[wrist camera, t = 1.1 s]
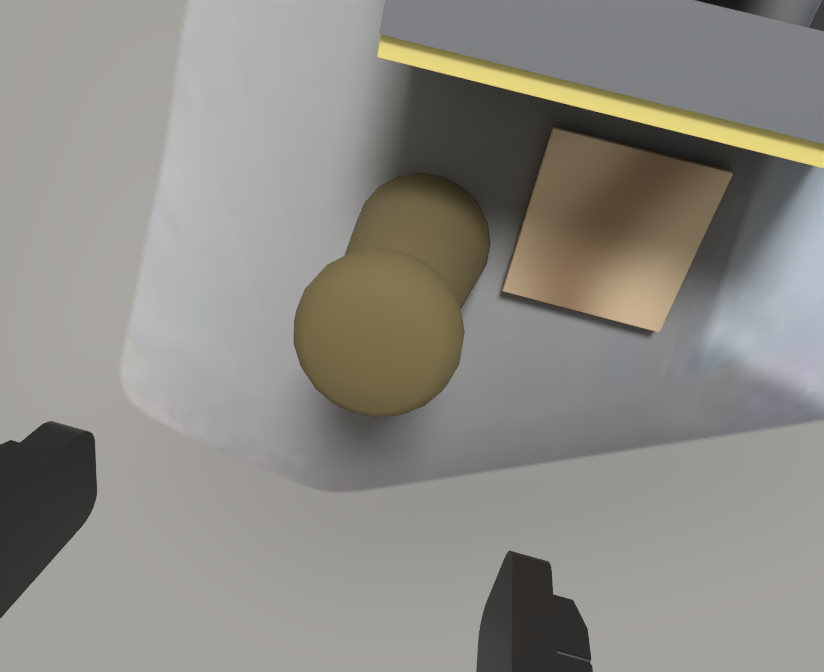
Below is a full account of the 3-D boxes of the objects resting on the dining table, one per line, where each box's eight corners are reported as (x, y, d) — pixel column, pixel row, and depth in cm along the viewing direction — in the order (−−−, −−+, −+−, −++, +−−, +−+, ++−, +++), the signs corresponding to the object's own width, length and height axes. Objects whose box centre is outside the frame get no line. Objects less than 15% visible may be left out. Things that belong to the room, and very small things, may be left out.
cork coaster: (728, 170, 23) (733, 173, 23) (656, 326, 27) (659, 332, 26) (552, 126, 24) (553, 128, 23) (502, 286, 27) (502, 291, 26)
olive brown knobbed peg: (489, 306, 28) (473, 455, 18) (360, 303, 28) (279, 442, 19) (491, 172, 25) (474, 260, 15) (349, 173, 26) (248, 257, 16)
